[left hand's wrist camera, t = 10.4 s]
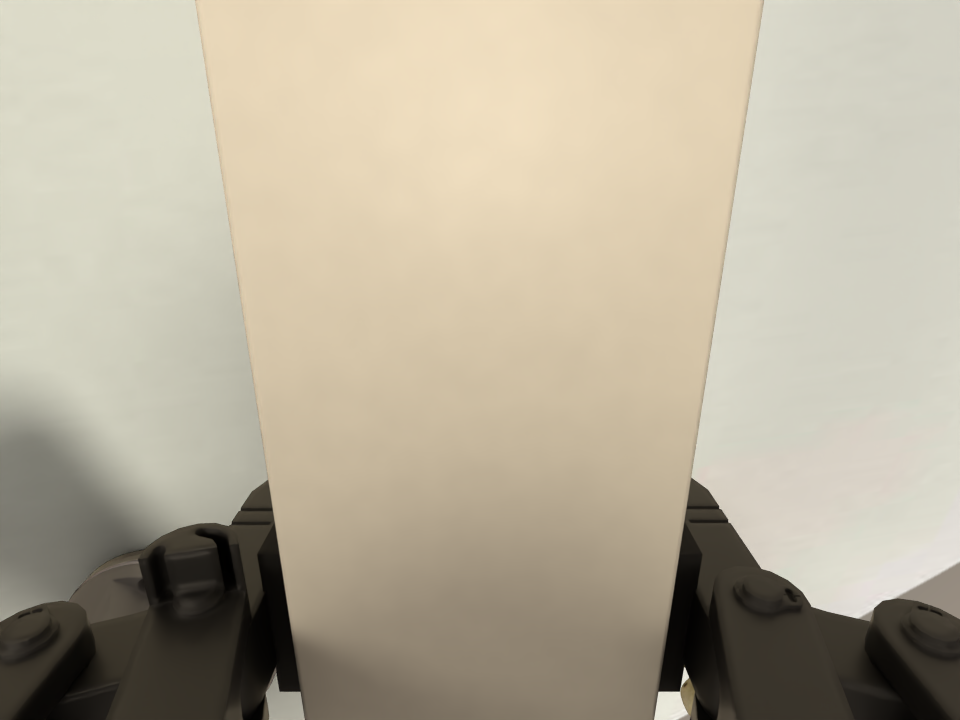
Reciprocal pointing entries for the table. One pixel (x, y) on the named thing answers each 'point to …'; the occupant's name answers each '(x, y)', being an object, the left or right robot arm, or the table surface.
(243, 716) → the left robot arm
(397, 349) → the bar
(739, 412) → the table surface
